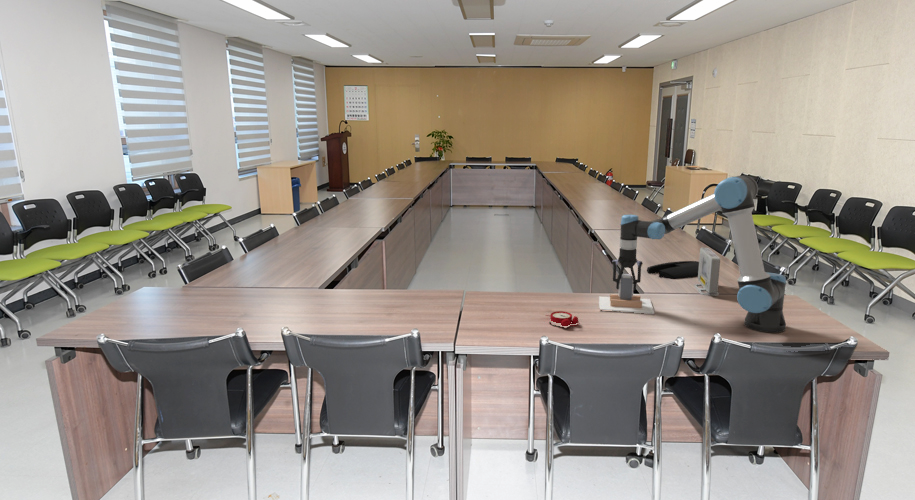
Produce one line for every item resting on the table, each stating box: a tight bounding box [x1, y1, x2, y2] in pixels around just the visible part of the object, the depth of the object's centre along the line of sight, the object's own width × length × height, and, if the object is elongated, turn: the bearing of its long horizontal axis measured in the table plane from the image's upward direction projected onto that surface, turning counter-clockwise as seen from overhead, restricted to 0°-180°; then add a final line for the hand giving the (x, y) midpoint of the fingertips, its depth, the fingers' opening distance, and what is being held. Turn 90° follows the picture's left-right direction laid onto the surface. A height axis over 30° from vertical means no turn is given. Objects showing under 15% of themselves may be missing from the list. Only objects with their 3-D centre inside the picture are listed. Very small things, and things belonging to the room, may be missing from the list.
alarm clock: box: [545, 310, 580, 327], centre depth 235 cm, size 10×6×15 cm
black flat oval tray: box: [646, 260, 699, 280], centre depth 316 cm, size 25×41×5 cm, turn 112°
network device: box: [693, 247, 721, 297], centre depth 278 cm, size 26×9×20 cm, turn 168°
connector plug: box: [620, 273, 633, 300], centre depth 256 cm, size 5×5×12 cm
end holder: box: [598, 293, 655, 315], centre depth 257 cm, size 20×24×4 cm
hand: (625, 296), depth 256 cm, fingers closed on connector plug, 5 cm apart
